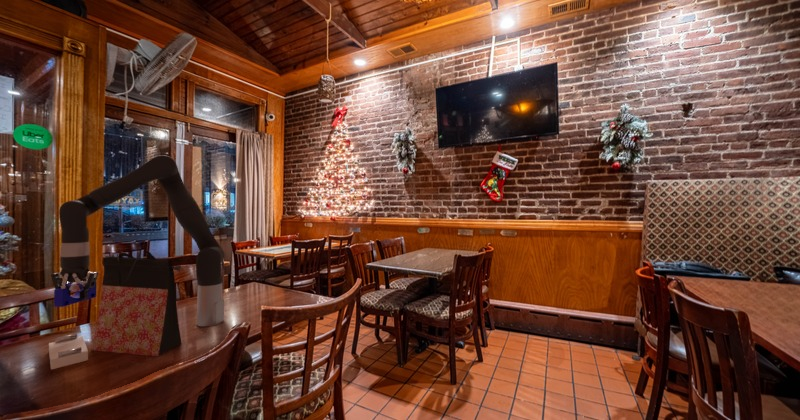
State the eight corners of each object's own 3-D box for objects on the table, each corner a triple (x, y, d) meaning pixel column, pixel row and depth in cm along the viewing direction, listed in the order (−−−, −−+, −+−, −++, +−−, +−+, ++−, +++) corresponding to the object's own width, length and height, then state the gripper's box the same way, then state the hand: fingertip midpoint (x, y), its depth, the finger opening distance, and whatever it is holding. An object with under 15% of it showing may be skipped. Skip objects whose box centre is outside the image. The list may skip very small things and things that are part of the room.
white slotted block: (82, 344, 112) (82, 332, 112) (87, 360, 101) (88, 346, 101) (48, 351, 106) (49, 338, 106) (50, 369, 95) (51, 355, 95)
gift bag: (81, 354, 105) (83, 251, 105) (123, 336, 119) (125, 246, 119) (160, 361, 102) (162, 254, 101) (193, 342, 116) (195, 249, 115)
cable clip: (84, 296, 121) (85, 281, 121) (96, 296, 121) (96, 281, 121) (49, 306, 109) (50, 289, 109) (62, 306, 109) (62, 289, 109)
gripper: (105, 252, 119) (104, 296, 119) (62, 253, 117) (62, 297, 117) (88, 256, 112) (88, 303, 112) (42, 256, 110) (42, 304, 110)
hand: (74, 300), depth 115 cm, fingers closed on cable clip, 4 cm apart
